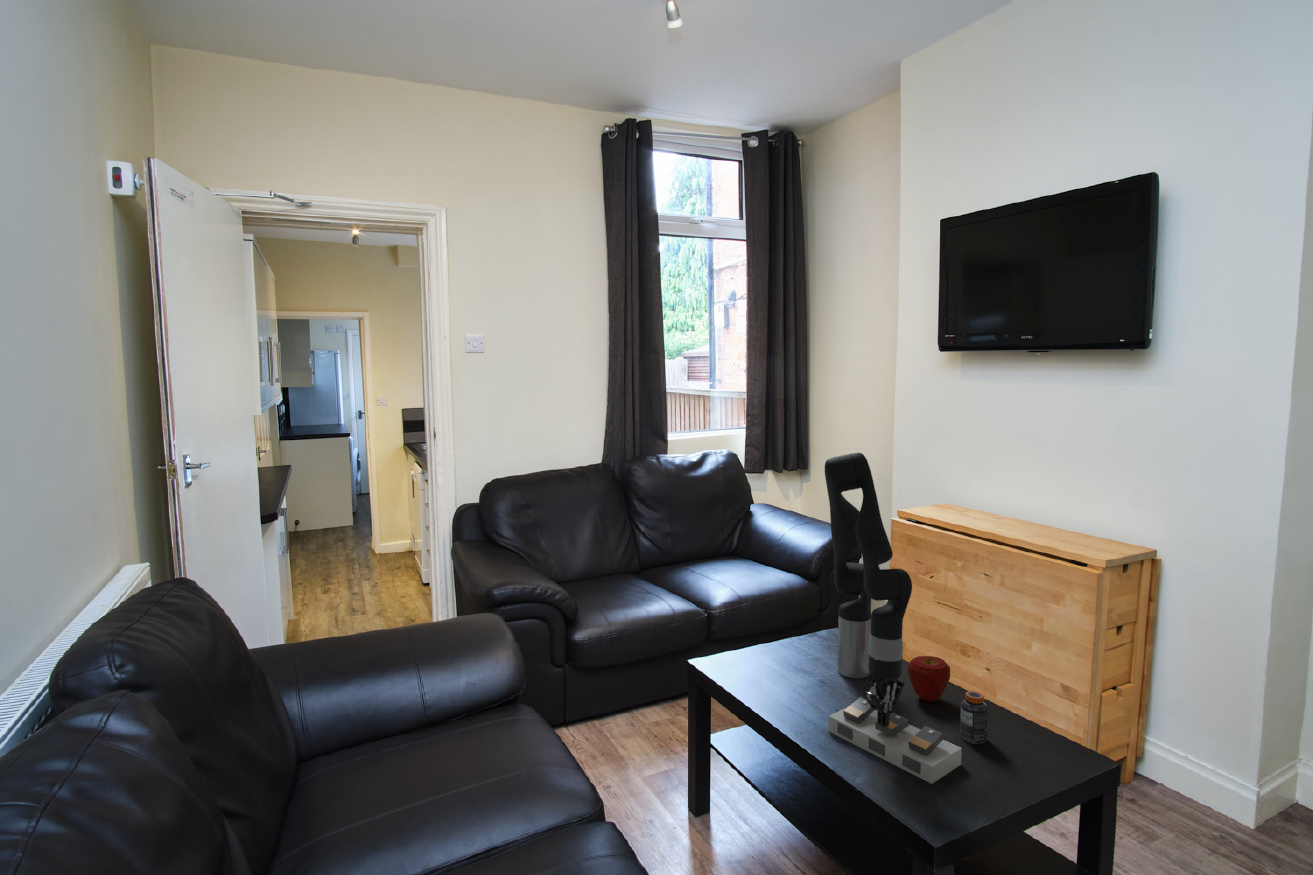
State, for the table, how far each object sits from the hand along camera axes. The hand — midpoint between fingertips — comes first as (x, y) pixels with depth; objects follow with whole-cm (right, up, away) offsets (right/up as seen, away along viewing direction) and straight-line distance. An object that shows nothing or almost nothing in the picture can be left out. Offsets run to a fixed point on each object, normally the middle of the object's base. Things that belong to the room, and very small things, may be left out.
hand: (883, 725), depth 161 cm
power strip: (+3, -7, +3) cm, 8 cm away
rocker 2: (+3, -3, +2) cm, 5 cm away
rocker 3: (+8, -3, -5) cm, 10 cm away
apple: (+21, -4, +27) cm, 34 cm away
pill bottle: (+24, -6, +6) cm, 26 cm away
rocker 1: (-2, -2, +10) cm, 10 cm away
